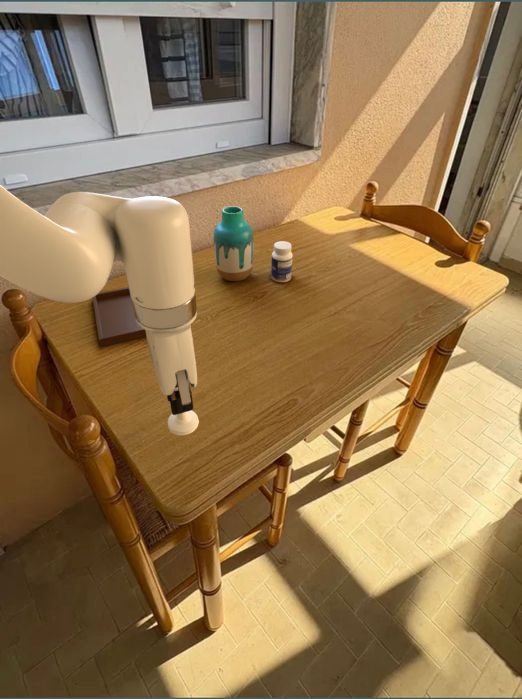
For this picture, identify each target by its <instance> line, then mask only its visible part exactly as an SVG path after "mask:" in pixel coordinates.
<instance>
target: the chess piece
mask: <svg viewBox="0 0 522 699" xmlns="http://www.w3.org/2000/svg"><path fill="white" fill-rule="evenodd" d="M176 390H178V387H176V388H175V391H176ZM199 422H200V421H199V417H198V415H197V413H196V412H195V411H194V410H191V411H188V412H184V413H181V414H177V415H173V414H172V413H171V414H170V415H169V417H168V418H167V428H168V430H169V432H170V433H172V435H173V434H174V435H175V436H187V435H190V434H192V433H193V432H194V431H195V430H197V429H198V426H199Z"/></svg>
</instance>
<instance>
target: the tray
mask: <svg viewBox="0 0 522 699" xmlns="http://www.w3.org/2000/svg"><path fill="white" fill-rule="evenodd" d="M92 302H93V310H94V316H95V323H96V329H97V336H98V342H99V343H100V347H103V348H104V347H107V346H111V345H115V344H120V343H125V342H128V341H132V340H133V341H134V340H137V339H142V338H145V337H146V338H147V336H146V331H145V329H143V328H142V327H140V326H139V325H138V323H137V322H136V318H135V314H134V309H133V304H132V300H131V295H130V291H129V286H127V287H121V288H115V289H110V290H106V291H100V292H99V293H98V294H97V295H96V296H94V297H92Z"/></svg>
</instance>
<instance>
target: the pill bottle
mask: <svg viewBox="0 0 522 699" xmlns="http://www.w3.org/2000/svg"><path fill="white" fill-rule="evenodd" d="M293 256H294V255H293V252H292V243H290V242H289V241H285V240H280V241H276V242H275V243H274V244H273V251H272V253H271V267H270V276H271V279H272V281H274V282H276V283H287V282H288V281H291V279H292V274H293V273H292V272H293V271H292V270H293V260H294V259H293Z"/></svg>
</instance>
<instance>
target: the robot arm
mask: <svg viewBox="0 0 522 699" xmlns="http://www.w3.org/2000/svg"><path fill="white" fill-rule="evenodd" d="M190 228H191V227H190V219H189V214H188V212H187V210H186V208H185V206H184V205H183V204H182V203H181V202H179V201H177V200H175V199H174V198H170V197H165V196H160V195H159V196H158V195H149V196H148V195H147V196H139V197H135V198H128V197H121V196H115V195H108V194H103V193H97V192H96V193H95V192H90V191H73V192H68V193H65V194H63V195H61V196H59V197H58V198H57V199H56V200H55V201H54V202H53V204H52V205H51V206H50V207H49V209H48V210H47V211H46V212H45V214H44V215H43V214H41V213H40V212H38V211H37V210H36V209H34V208H32V207H31V206H29V205H28V204H26V203H25V202H24V201H22V200H21V199H19V198H18V197H17V196H15V195H14V194H12V193H11V192H10V191H9V190H7V189H6V188H5V187H4V186H3V185H1V184H0V277H1V278H3V279H4V280H6V281H8V282H9V283H11V284H14V285H15V286H18V288H21V289H23V290H24V291H27V292H29V293H32V294H34V295H36V296H38V297H41V298H44V299H45V300H46V299H47V300H49V301H54V302H57V303H62V304H63V303H64V304H75V303H76V304H78V303H82V302H86V301H88V300H91V299H93V297H94V296H96V295H97V294H98V293H100V292H102V290H103V289H104V288H105V286H106V285H107V282H108V280H109V278H110V274H111V272H112V269H113V266H114V263H115V262H121V263H122V265H123V268H124V272H125V277H126V281H127V285H128V286H127V287H129V291H130V295H131V300H132V304H133V309H134V314H135V318H136V322H137V323H138V325H139V326H140V327H142V328H143V329H145V331H146V340H147V348H148V354H149V359H150V362H151V365H152V369H153V373H154V375H155V378H156V383H157V385H158V388H159V390H160V393H161V395H163V396H166V399H167V401H168V402H169V405H170V411H171V414H173V415H177V414H181V413H184V412H188V411H191V410H192V411H194V403H193V402H194V401H193V393H192V389H191V388H193V389H195V388H197V385H198V372H197V370H198V369H197V361H196V353H195V346H194V338H193V332H192V325H191V324H193V323H194V321H196V319H197V316H198V308H197V297H196V287H195V286H196V285H195V274H194V262H193V251H192V240H191V229H190ZM176 387H178V390H176V391H175V388H176Z"/></svg>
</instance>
